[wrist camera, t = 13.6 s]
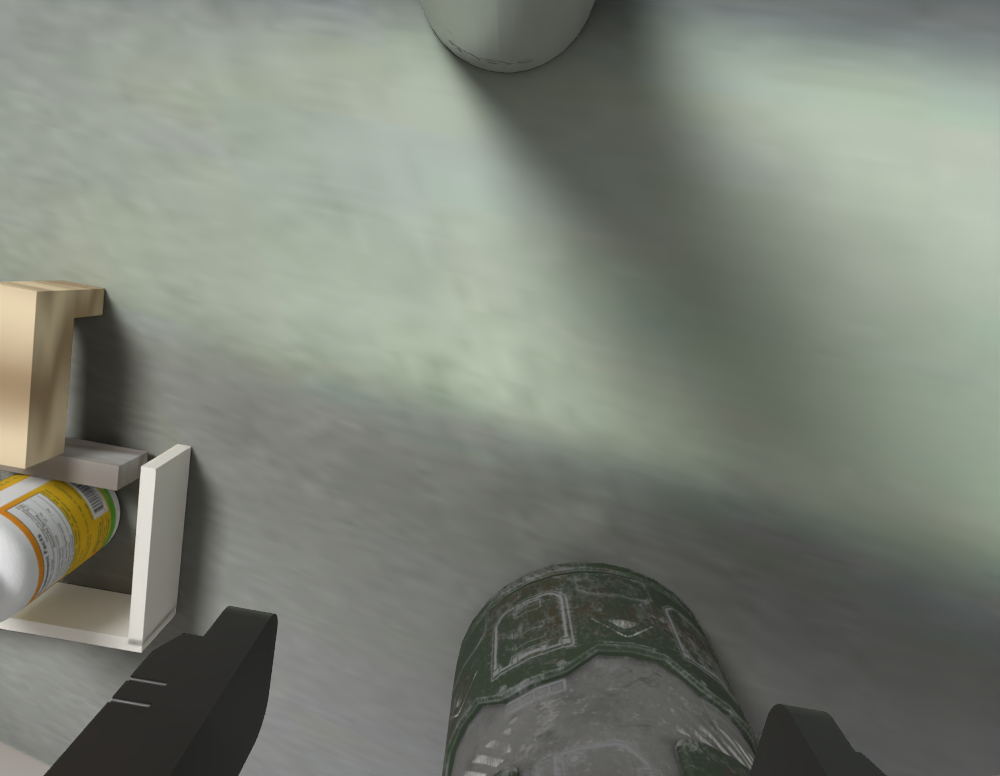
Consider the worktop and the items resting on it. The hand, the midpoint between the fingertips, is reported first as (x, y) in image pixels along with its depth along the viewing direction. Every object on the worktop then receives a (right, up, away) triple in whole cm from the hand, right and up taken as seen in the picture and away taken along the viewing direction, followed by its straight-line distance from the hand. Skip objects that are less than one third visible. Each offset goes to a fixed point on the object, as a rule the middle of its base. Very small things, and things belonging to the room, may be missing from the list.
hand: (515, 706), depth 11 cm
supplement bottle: (-26, -2, +30) cm, 40 cm away
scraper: (-25, +6, +28) cm, 37 cm away
